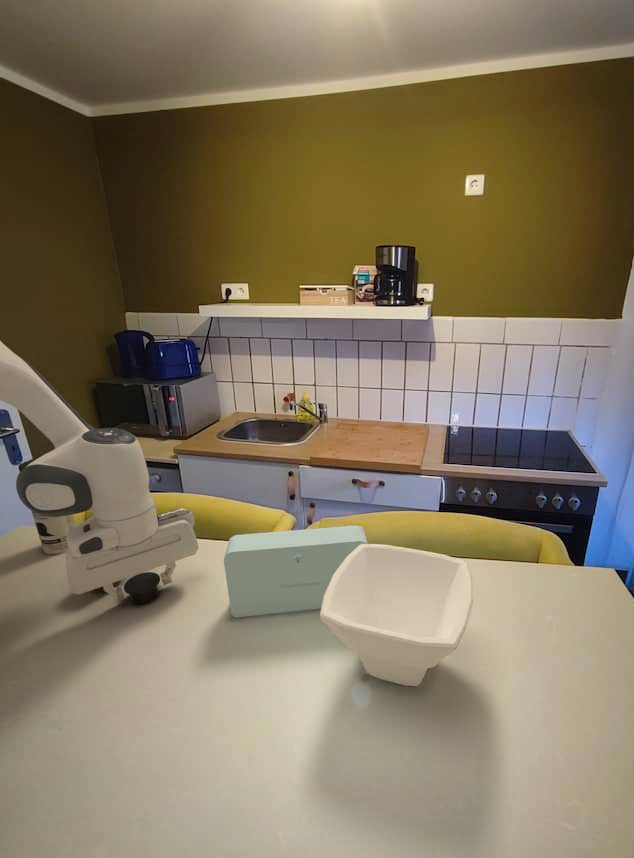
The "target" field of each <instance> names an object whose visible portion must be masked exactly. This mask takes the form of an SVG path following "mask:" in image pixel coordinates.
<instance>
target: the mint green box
mask: <svg viewBox="0 0 634 858" xmlns="http://www.w3.org/2000/svg"><path fill="white" fill-rule="evenodd" d="M360 544H369V543H368V539H367V536H366V533H365V529H364V528H363V527H362V526H360V525H356V524H355V525H343V526H331V527H318V528H306V529H304V528H303V529H296V530H295V529H292V530H282V531H281V530H280V531H271V532H270V531H268V532H260V533H259V532H255V533H243V534H235V535H233V536H231V537H230V538H229V540H228V543H227V546H226V550H225V554H224V558H223V566H224V573H225V579H226V586H227V594H228V599H229V601H228V602H229V608H230V613H231V615H232V617H233V618H244V617H253V616H263V615H272V614H281V613H282V614H283V613H291V612H292V613H293V612H300V611H308V610H321V607H322V602H323V597H324V594H325V592H326V590H327V588H328V585H329V583H330V581H331V579H332V577H333V574H334V573H335V572H336V570H337V569H338V568H339V566H340V565H341V564H342V562H343V561H344V560H345V558H346V557H347V556H348V555H349V554H350V553H351V552H352V551H354V550H355V549H356V548H357V547H358V546H359V545H360Z"/></svg>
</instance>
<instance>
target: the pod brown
mask: <svg viewBox="0 0 634 858" xmlns="http://www.w3.org/2000/svg"><path fill="white" fill-rule="evenodd" d="M121 583H122V580H120V581H117V582H114V583H112V584H113V587H114V588H116V589H117V588H118V587H119V586H120V585H121ZM93 591H94V592H95V593H106V592H105V591H104V588H103V586H102V587H99V588H97V589H94V590H93Z"/></svg>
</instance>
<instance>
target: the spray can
mask: <svg viewBox="0 0 634 858" xmlns="http://www.w3.org/2000/svg"><path fill="white" fill-rule="evenodd" d="M38 458H39V457H35V458H32V459H29V460H27V461H23V462H22V463H20V464H18V467H17V468H18V471H19V472H20V471H21V470H22V469H24V468H25V467H26V466H27V465H29V464H30V463H32V462H33V461H35V460H36V459H38ZM31 514H32V517H33V521H34V525H35V527H36V531H37V534H38V538H39V540H40V542H41V547H42V550H43V552H44V553H45V554H48V555H57V554H62V553H66V552H67V550H68V549H69V548H68V545H67V533H68V531H69V530H70V529H72V528H73V527H75V526H77V524H76V521H75V518H74V514H73V515H67V516H61V517H47V516H42V515H39V514H37V513H35V512H33V511H31Z"/></svg>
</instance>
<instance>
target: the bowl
mask: <svg viewBox="0 0 634 858" xmlns="http://www.w3.org/2000/svg"><path fill="white" fill-rule="evenodd" d="M473 602H474V593H473V577H472V574H471V569H470V567H469V564H468V562H467V561H465V560H462V559H459V558H456V557H453V556H449V555H447V554H443V553H437V552H432V551H426V550H421V549H417V548H416V549H415V548H410V547H409V548H408V547H402V546H396V545H390V544H384V543H383V544H382V543H381V544H380V543H377V544H376V543H368V544H360V545H359V546H358V547H357V548H356V549H355V550H354V551H352V552H351V553H350V554H349V555H348V556H347V557H346V558H345V560H344V561H343V562H342V564H341V565H340V566H339V568H338V569H337V570H336V572H335V573H334V574H333V577H332V579H331V581H330V583H329V585H328V588H327V590H326V592H325V594H324V597H323V602H322V607H321V609H320V613H319V619H320V620H321V621H322V622H323V623H324V624H325V625H326V626H327V628H328V629H330V631H332V632H333V633H334V634H335V636H336V637H337V638H339V640H340V641H341V642H342V643H343V644H344V645H345V646H346V647H347V648H349V649H351V650H353V651H354V652H357V653H358V656H359V659H360V661H361V663H362V666H363V668H364V670H365V673H366V674H368V675H370V676H372V677H374V678H376V679H379V680H383V681H387V682H390V683H394V684H398V685H402V686H405V687H408V686H409V687H418V686H420V684H421V683H422V681H423V679H424V678H425V676H426V673H427V671H428V669H432V668H435V667H436V666H437V665H438V664H439V663H440V662H442V661H443V660H444V659H445V658H447V657H448V656H449V655H450V654H452V653H453V652H454V651H455V650H456V649H457V648H458V646H459V644H460V642H461V640H462V637H463V636H464V634H465V632H466V631H467V627H468V624H469V619H470V615H471V612H472V607H473Z"/></svg>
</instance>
